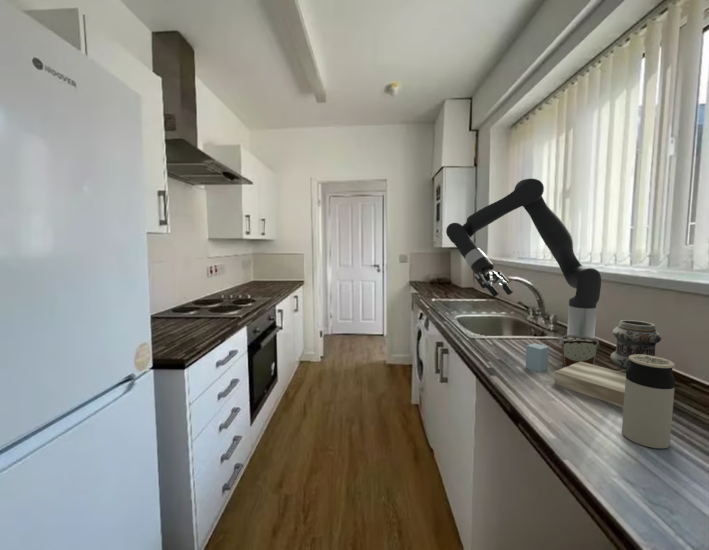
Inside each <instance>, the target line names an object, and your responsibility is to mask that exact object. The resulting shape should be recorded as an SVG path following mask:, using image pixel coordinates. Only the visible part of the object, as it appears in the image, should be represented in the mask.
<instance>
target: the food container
mask: <svg viewBox="0 0 709 550" xmlns="http://www.w3.org/2000/svg"><path fill="white" fill-rule="evenodd" d="M559 344H560V345H561V352H562V353H561V355H562V357H561V359H562V366H563V368H565V367H567V366H570V365H573V364H575V363H578V362H580V361H581V362H585V363H589V364H592V365H595V360H596V355H597V349H598V347H599V346H600V341H599V339H598V338H595V337H594V338H591V337H586V336H579V335H567V334H565V335H562V336H561V337H560V339H559Z"/></svg>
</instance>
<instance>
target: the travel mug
mask: <svg viewBox="0 0 709 550" xmlns="http://www.w3.org/2000/svg"><path fill="white" fill-rule="evenodd" d="M629 359H630V363H631V365H630V366H629V367H628V368H627V370H626V369H625V370H626V381H625V395H624V408H623V411H622V412H623V413H622V423H621V425H622V426H621V433H622V434H623V435H624V437H626V439H628V440H630V441H632V442H633V443H636V444H637V445H641V446H643V447H647V448H652V449H667V448H669V447H670V444H671V435H672V422H673V421H672V420H673V411H674V400H675V399H674V398H675V387H676V378H675V377H674V374H673V373H672V371H673V368H675V366H676V364H675V363H674V362H673V361H671V360H669V359H666V358H663V357H660V356H656V355H655V356H650V355H641V354H634V355H630V356H629Z"/></svg>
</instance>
